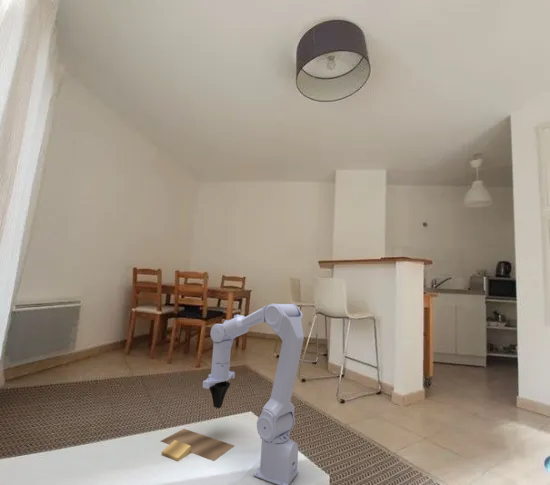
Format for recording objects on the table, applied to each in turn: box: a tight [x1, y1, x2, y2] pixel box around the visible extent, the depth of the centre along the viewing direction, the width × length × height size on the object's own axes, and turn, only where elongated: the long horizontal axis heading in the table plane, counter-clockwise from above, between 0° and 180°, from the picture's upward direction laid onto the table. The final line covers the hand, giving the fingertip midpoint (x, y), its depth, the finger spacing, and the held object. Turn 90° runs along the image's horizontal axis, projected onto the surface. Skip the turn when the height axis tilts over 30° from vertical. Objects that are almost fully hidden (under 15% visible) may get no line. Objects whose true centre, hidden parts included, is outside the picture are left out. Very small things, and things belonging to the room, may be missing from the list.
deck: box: [160, 428, 236, 462], centre depth 92 cm, size 20×10×2 cm, turn 63°
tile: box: [161, 440, 192, 462], centre depth 86 cm, size 6×5×2 cm
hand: (217, 407), depth 98 cm, fingers closed
